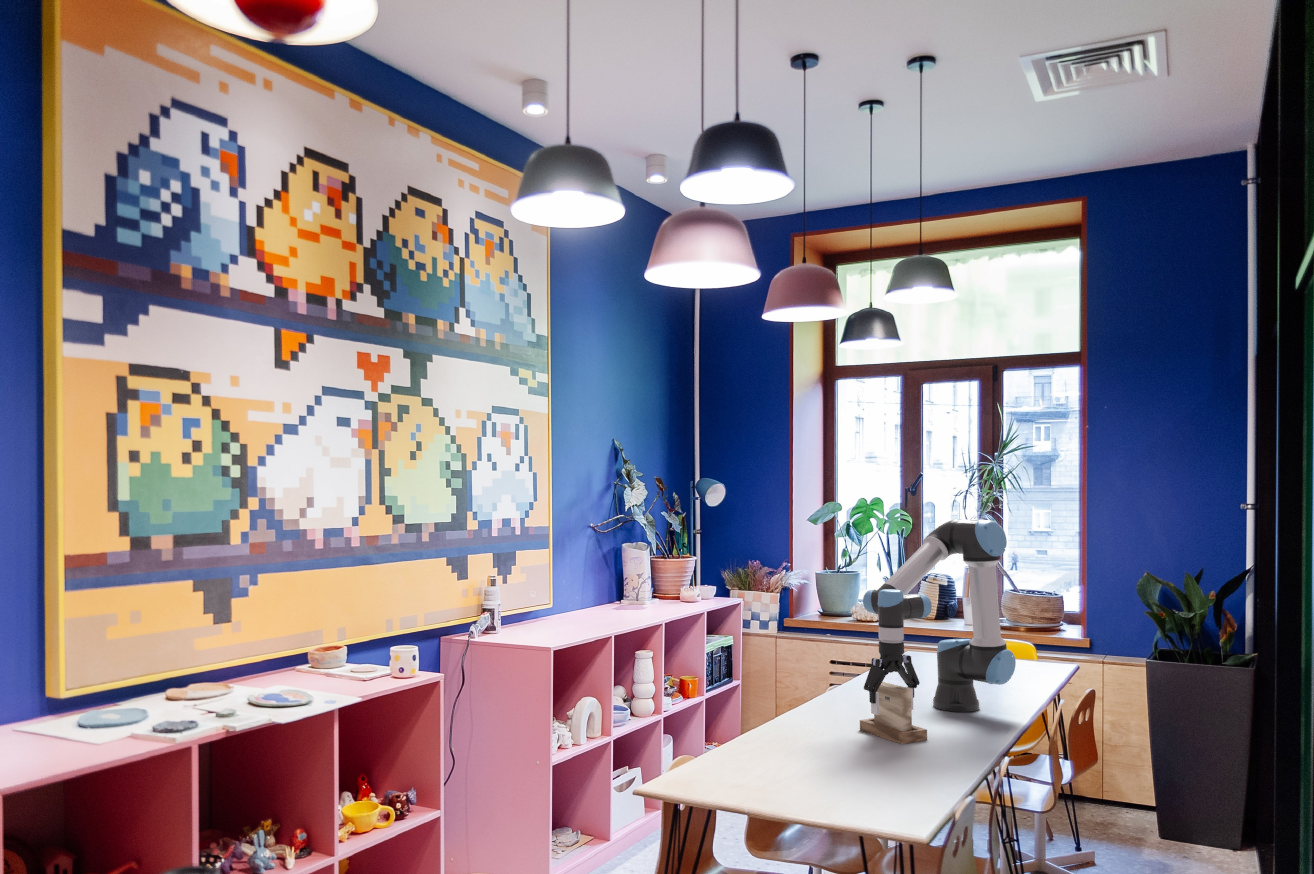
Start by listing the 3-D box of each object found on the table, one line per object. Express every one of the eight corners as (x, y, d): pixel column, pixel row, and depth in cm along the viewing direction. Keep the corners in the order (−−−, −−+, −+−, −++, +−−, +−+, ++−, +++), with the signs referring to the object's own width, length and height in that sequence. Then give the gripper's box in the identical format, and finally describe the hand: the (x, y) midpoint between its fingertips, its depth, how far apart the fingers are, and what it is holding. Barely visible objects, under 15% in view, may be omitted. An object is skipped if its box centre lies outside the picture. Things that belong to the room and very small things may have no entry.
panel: (884, 727, 283) (883, 681, 284) (912, 736, 273) (911, 688, 274) (874, 729, 282) (873, 683, 282) (901, 738, 271) (900, 690, 272)
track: (884, 726, 288) (884, 716, 288) (927, 739, 271) (927, 729, 272) (859, 729, 283) (859, 720, 283) (901, 744, 267) (901, 733, 267)
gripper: (913, 636, 288) (914, 704, 287) (851, 642, 276) (852, 713, 275) (930, 639, 281) (931, 709, 280) (867, 645, 270) (869, 718, 268)
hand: (892, 711), depth 278 cm, fingers open, 13 cm apart
